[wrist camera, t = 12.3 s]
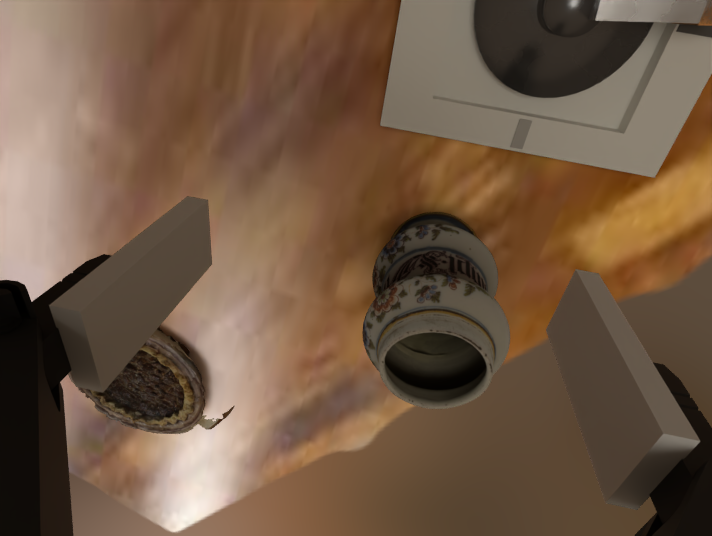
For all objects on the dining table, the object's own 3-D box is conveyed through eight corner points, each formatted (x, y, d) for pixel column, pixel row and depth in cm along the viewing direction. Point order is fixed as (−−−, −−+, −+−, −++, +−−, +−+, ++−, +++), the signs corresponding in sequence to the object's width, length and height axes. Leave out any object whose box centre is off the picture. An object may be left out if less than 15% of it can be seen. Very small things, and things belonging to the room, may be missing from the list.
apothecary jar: (424, 315, 51) (419, 444, 36) (356, 245, 48) (320, 356, 33) (514, 261, 46) (553, 388, 31) (445, 178, 42) (451, 274, 27)
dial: (461, 91, 37) (465, 104, 32) (489, -107, 30) (500, -129, 25) (664, 101, 35) (700, 116, 30) (744, -109, 28) (807, -133, 23)
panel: (441, -218, 28) (442, -239, 26) (815, -165, 27) (853, -182, 25) (383, 118, 40) (379, 126, 38) (641, 167, 39) (655, 178, 36)
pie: (33, 343, 66) (6, 365, 62) (122, 250, 54) (96, 270, 50) (174, 445, 75) (159, 471, 71) (277, 384, 63) (266, 411, 59)
